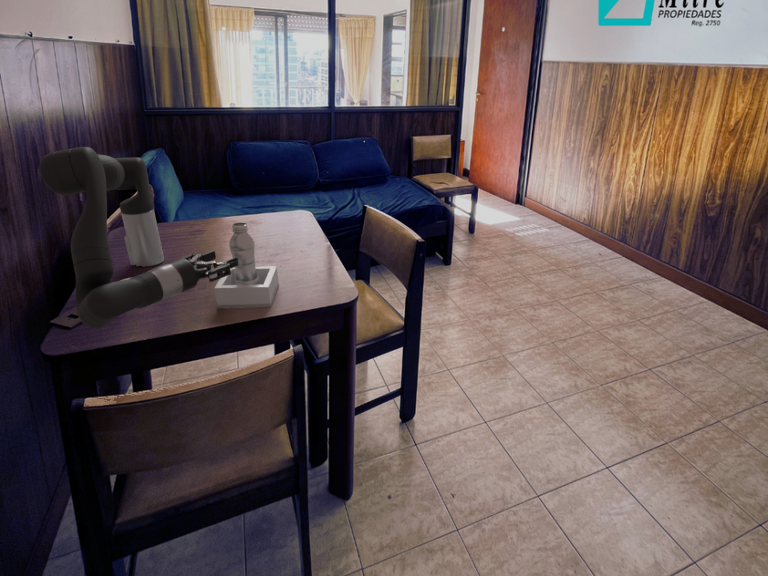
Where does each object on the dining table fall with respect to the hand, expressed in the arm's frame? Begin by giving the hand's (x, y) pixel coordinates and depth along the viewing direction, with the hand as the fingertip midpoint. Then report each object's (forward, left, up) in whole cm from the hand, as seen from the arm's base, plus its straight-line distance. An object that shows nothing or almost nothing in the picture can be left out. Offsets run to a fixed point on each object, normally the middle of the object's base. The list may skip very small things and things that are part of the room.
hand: (225, 257), depth 124 cm
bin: (+3, +5, -14) cm, 15 cm away
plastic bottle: (+3, +5, -13) cm, 14 cm away
